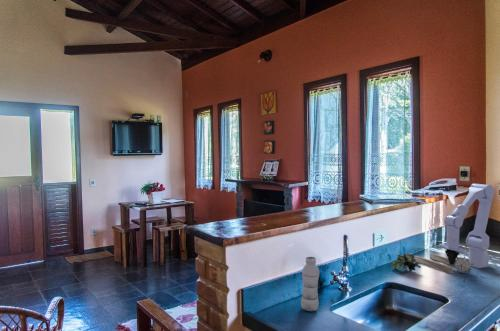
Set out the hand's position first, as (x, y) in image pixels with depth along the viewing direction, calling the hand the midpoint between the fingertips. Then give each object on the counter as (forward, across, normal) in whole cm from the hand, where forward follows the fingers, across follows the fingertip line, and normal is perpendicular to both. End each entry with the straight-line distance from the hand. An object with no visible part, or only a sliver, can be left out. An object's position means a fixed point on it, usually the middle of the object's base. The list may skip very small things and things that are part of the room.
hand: (451, 264), depth 190 cm
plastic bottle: (+3, +12, -96) cm, 97 cm away
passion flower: (+3, -6, -26) cm, 27 cm away
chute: (+2, -7, 0) cm, 7 cm away
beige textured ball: (+3, +6, 0) cm, 7 cm away
